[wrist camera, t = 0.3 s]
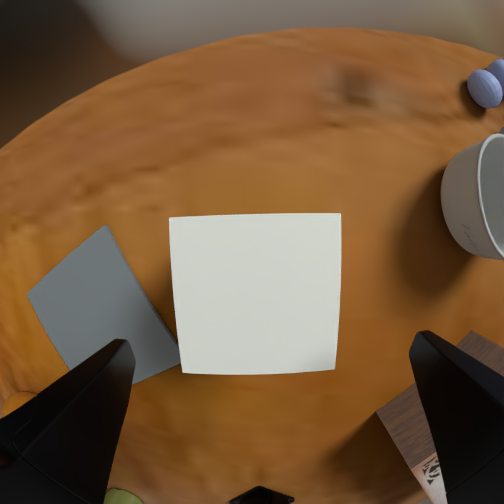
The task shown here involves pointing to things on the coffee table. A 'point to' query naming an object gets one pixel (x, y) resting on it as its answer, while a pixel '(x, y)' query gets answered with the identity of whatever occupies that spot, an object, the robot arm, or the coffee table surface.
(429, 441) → the tissue box cover
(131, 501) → the plant pot
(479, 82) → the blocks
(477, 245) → the teacup
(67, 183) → the coffee table surface
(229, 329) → the tall white pillar
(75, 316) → the mat
